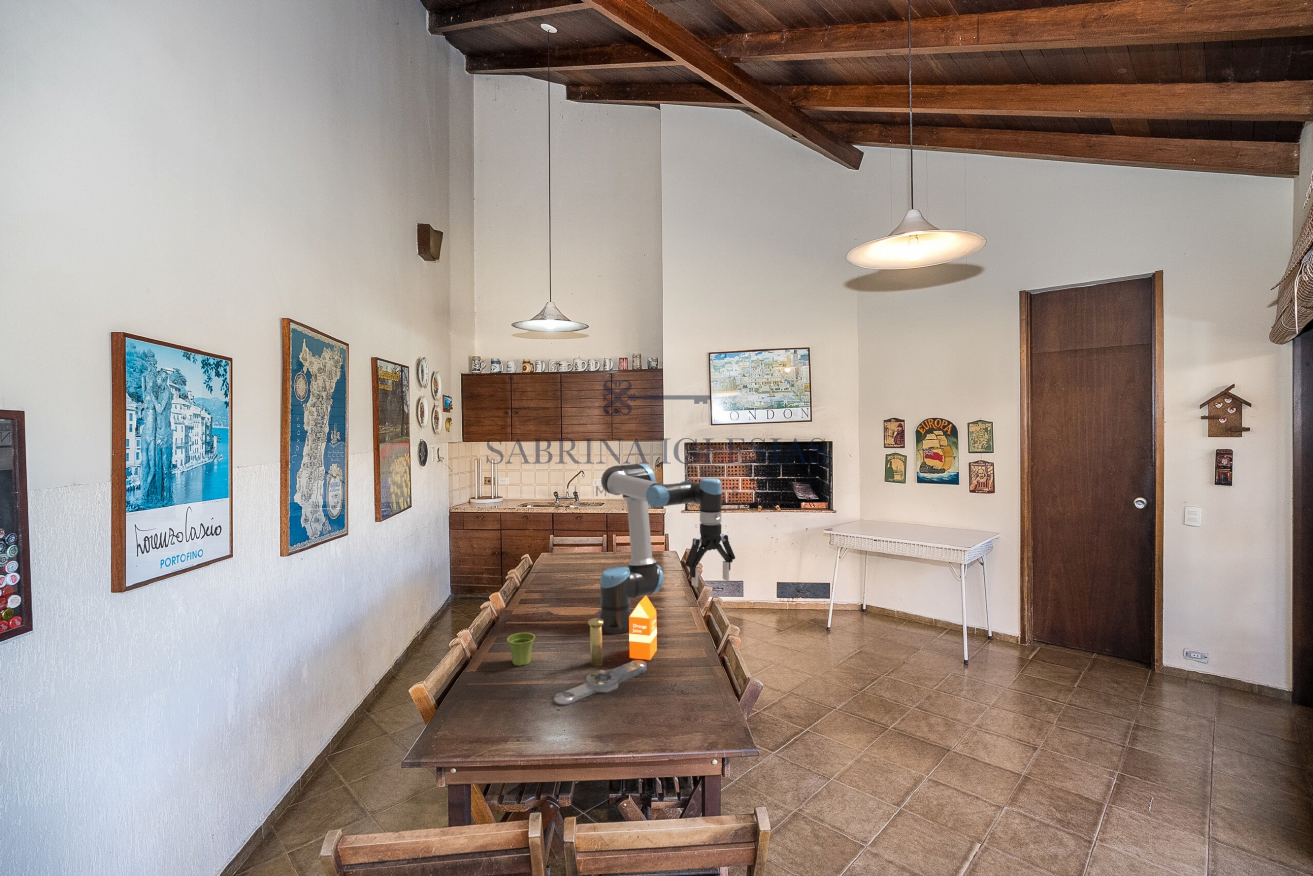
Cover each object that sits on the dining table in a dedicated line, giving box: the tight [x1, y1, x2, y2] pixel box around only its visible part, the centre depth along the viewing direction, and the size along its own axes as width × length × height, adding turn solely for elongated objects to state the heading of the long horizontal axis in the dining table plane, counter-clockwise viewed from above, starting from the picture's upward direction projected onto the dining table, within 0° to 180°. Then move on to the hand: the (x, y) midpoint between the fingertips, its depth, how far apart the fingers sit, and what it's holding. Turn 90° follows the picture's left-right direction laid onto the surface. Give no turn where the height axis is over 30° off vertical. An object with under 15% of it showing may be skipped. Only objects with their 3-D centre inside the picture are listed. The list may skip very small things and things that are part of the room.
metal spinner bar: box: [553, 659, 647, 706], centre depth 186 cm, size 35×10×2 cm, turn 133°
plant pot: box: [506, 632, 536, 667], centre depth 204 cm, size 9×9×9 cm
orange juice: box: [628, 595, 658, 661], centre depth 209 cm, size 8×9×20 cm
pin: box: [587, 617, 604, 667], centre depth 202 cm, size 5×5×15 cm
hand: (710, 583), depth 207 cm, fingers open, 13 cm apart
